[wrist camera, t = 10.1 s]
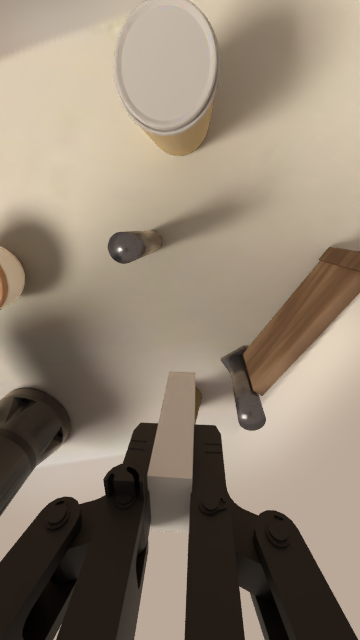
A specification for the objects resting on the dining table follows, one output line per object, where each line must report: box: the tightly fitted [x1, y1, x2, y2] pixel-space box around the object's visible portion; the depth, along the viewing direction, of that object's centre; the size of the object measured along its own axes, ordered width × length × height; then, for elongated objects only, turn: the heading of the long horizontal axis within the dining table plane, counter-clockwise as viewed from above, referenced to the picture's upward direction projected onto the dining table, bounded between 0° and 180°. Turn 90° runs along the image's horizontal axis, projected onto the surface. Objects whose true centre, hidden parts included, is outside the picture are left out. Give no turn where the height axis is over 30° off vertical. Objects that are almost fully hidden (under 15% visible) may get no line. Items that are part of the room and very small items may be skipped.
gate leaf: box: [243, 247, 360, 396], centre depth 33 cm, size 2×20×11 cm, turn 148°
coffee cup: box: [114, 0, 220, 156], centre depth 27 cm, size 9×9×12 cm
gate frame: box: [108, 231, 266, 430], centre depth 34 cm, size 4×28×14 cm, turn 36°
